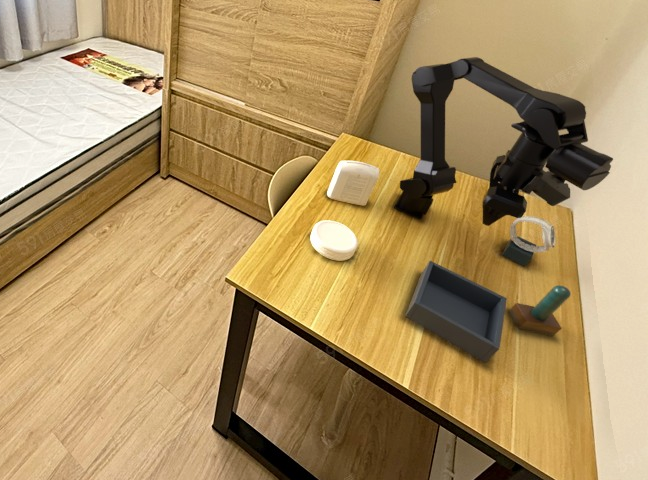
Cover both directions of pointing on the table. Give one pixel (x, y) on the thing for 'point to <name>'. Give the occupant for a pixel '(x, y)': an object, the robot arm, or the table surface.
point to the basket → (458, 311)
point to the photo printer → (353, 182)
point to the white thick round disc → (333, 240)
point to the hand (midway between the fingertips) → (488, 213)
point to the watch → (524, 249)
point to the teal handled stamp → (541, 312)
